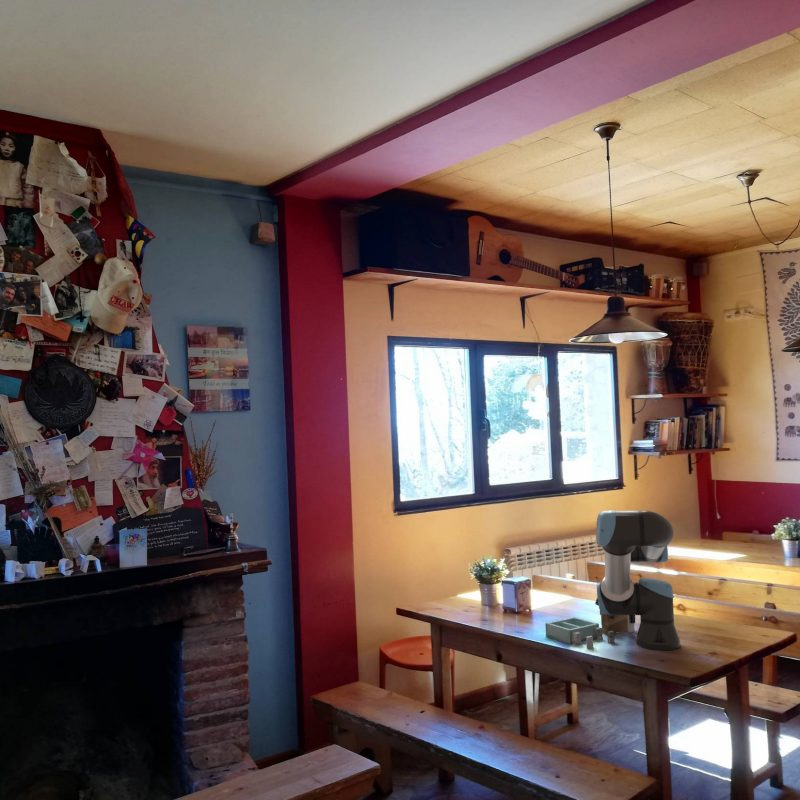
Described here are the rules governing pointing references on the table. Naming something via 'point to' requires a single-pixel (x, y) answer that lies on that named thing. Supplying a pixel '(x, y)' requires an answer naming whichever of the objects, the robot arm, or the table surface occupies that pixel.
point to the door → (614, 623)
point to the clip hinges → (592, 637)
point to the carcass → (569, 629)
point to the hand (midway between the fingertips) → (617, 627)
